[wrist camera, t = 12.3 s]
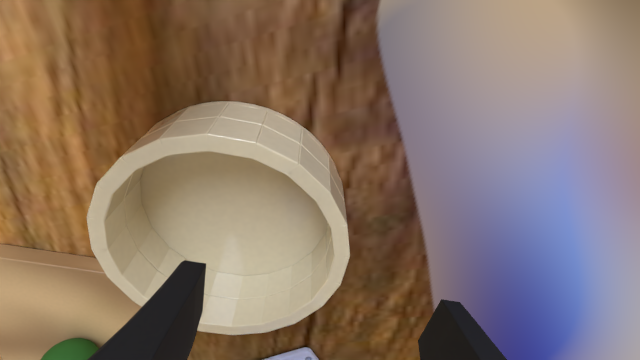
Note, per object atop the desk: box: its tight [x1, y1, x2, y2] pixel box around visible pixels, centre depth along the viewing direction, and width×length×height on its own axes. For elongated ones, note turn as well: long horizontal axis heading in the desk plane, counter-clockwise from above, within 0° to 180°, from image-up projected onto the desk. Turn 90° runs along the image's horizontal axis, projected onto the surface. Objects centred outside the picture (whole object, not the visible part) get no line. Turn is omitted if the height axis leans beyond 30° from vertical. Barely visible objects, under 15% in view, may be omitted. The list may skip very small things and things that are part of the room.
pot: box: [87, 101, 350, 335], centre depth 19 cm, size 13×13×4 cm
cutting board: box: [0, 244, 141, 360], centre depth 28 cm, size 20×12×1 cm, turn 168°
